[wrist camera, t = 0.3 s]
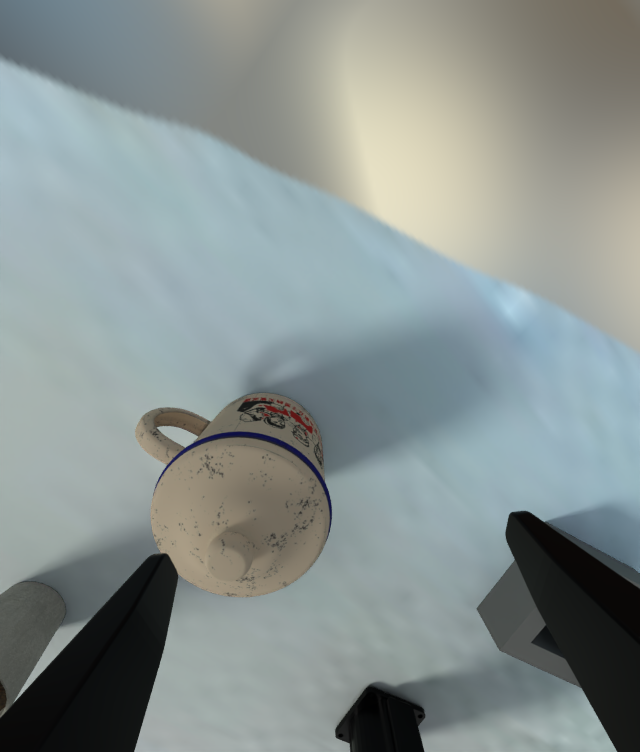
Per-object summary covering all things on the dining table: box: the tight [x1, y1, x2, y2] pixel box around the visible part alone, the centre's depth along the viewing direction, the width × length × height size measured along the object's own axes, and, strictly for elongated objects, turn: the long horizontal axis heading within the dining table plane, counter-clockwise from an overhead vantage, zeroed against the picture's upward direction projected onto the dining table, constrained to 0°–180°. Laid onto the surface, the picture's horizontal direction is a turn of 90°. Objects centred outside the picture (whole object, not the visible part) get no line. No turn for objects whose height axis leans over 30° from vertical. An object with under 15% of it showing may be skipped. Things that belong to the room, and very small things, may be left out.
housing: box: [477, 522, 640, 688], centre depth 26 cm, size 10×10×4 cm
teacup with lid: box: [135, 393, 332, 597], centre depth 19 cm, size 12×9×12 cm
